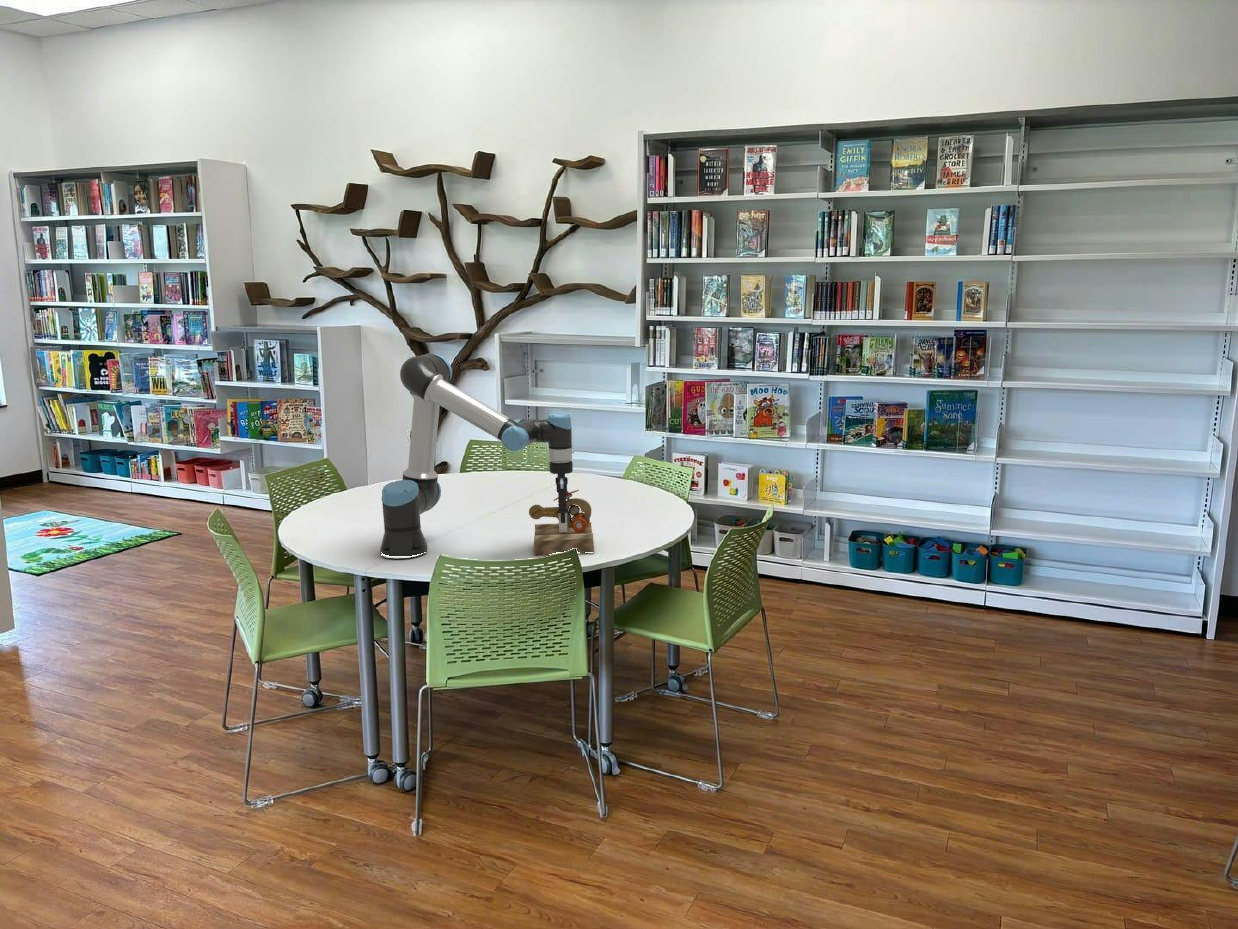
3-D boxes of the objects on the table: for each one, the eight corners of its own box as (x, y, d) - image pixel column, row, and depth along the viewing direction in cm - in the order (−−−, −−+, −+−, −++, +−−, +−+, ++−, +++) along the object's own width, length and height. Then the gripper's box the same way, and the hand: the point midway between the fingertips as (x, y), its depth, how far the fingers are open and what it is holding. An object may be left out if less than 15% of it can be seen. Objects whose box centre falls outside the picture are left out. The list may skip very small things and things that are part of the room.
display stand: (534, 556, 302) (534, 536, 301) (535, 542, 318) (534, 524, 317) (593, 553, 304) (593, 534, 302) (591, 540, 319) (591, 521, 318)
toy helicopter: (589, 533, 305) (588, 492, 302) (527, 532, 307) (525, 491, 305) (593, 526, 313) (592, 486, 310) (532, 525, 315) (531, 485, 313)
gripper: (573, 465, 296) (575, 536, 300) (571, 454, 315) (573, 521, 320) (549, 466, 295) (551, 537, 300) (549, 455, 315) (551, 522, 319)
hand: (563, 529), depth 310 cm, fingers closed on toy helicopter, 7 cm apart
